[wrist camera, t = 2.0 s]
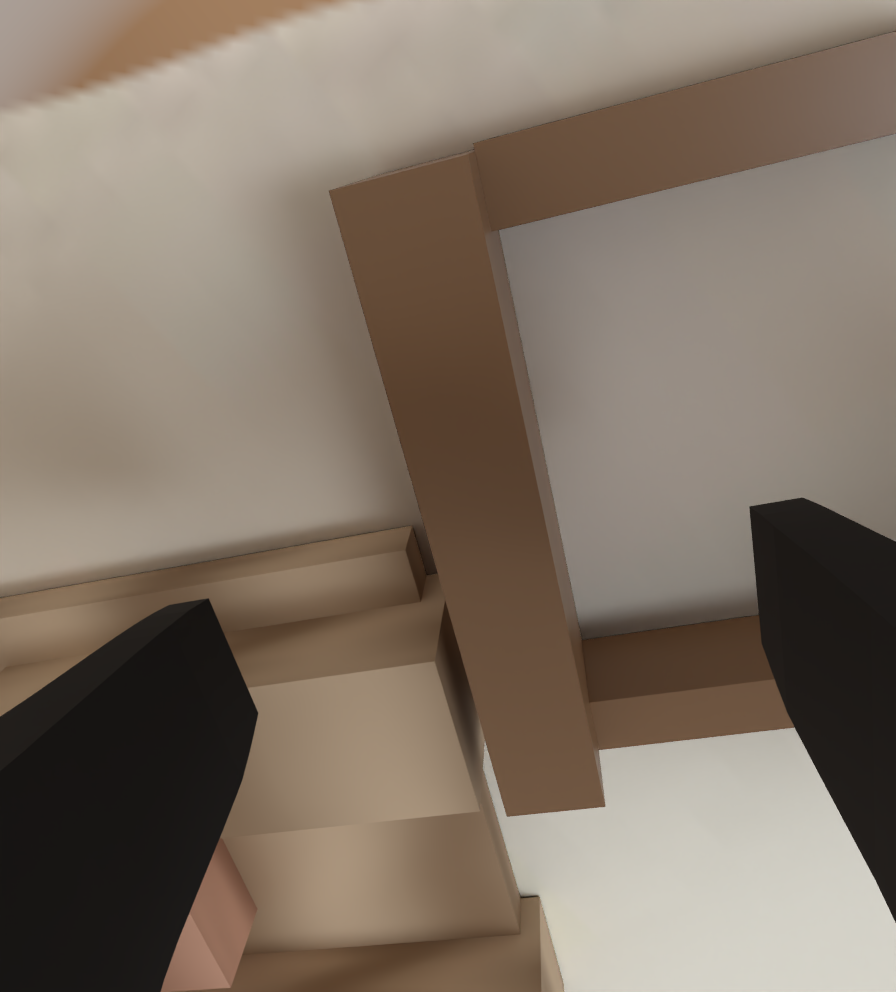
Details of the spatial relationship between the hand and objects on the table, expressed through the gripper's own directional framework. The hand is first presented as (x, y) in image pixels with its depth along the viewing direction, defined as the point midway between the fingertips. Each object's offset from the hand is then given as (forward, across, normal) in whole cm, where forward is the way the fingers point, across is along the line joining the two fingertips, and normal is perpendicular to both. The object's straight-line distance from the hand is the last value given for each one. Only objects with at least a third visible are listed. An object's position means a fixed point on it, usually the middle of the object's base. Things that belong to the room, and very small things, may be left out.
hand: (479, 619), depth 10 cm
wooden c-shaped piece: (+5, -4, 0) cm, 6 cm away
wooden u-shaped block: (+5, +8, +9) cm, 13 cm away
